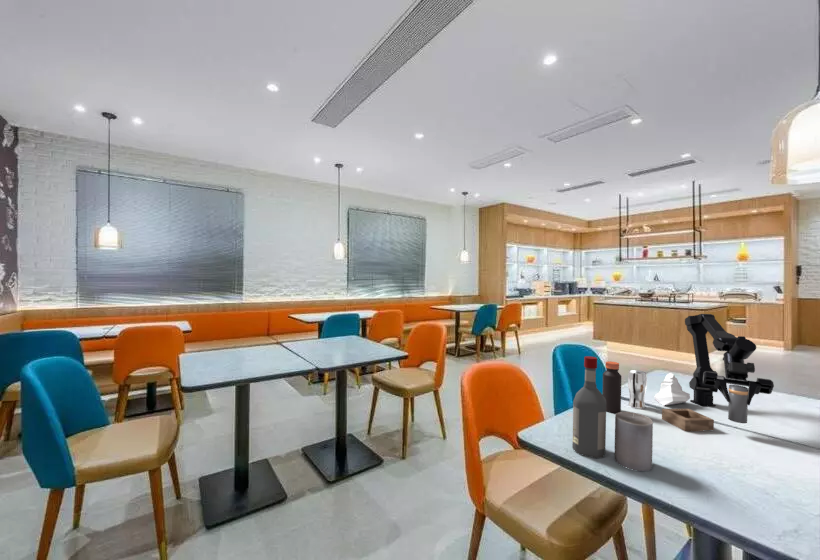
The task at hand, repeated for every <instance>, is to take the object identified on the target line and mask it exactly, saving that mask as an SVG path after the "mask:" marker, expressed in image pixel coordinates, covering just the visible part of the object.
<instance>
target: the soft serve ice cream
mask: <svg viewBox="0 0 820 560" xmlns="http://www.w3.org/2000/svg"><path fill="white" fill-rule="evenodd" d="M690 399H691V396H690V393H688V392H687V391H685V390H683V387H682V386H681V383H680V382H679V379H678V378H677V377H676V376H675V374H674V373H672V372H669V373H667V374H666V375H665V378H664V379H663V381H662V382H661V383H660V389H659V392H657V393H656V394H655V395H654V400H655V401H657V402H658V404H660V405H661V404H662V405H663V407H665V405H666V406H670V405H671V406H672V405H677V404H684V403H686V402H688V401H690ZM662 405H661V406H662Z"/></svg>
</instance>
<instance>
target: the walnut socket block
mask: <svg viewBox="0 0 820 560" xmlns="http://www.w3.org/2000/svg"><path fill="white" fill-rule="evenodd" d="M661 420H663V421H665V422H667V423H669V424H670V425H673V426H675V428H678V429H680V430H682V431H684V432H704V431H703V430H714V427H715V426H714V424H715V420H714V419H713V418H711V417H708V416H706V415H703V414H701V413H699V412H697V411H695V410H693V409H691V408H662V409H661Z"/></svg>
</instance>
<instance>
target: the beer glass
mask: <svg viewBox="0 0 820 560" xmlns="http://www.w3.org/2000/svg"><path fill="white" fill-rule="evenodd" d="M647 373H648V372H646V371H643V370H638V369H630V370H629V369H628V375H627V376H628V377H627V385H628V387H627V388H628V392H629V401H628V406H629V407H630V406H631V408H633V409H637V410H638V409H639V410H643V409H644V410H645V409H646V404H645V398H646V396H645V395H646V392H647V388H648V375H647Z"/></svg>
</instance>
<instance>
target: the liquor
mask: <svg viewBox="0 0 820 560" xmlns="http://www.w3.org/2000/svg"><path fill="white" fill-rule="evenodd" d="M583 359H584V360H583V361H584V362H583V367H584V368H585V369H584V383H583V387H581V388H580V389H579V390H578V391H576V393H575V396H574V398H573V403H572V408H573V409H572V443H571V444H572V449H573V451H574V450H575V451H576V453H577V454H578V453H579V454H578V455H580V454H583V455H582V456H585V455H586V456H585V457H588V458H589V457H590V458H593V459H601V458H602V459H603V458H604V457H605V456H606V445H607V444H606V440H607V439H606V436H607V434H606V433H607V411H606V399H605V397H604V396H603V393H602V392H601V391H600V390H599V389H598V387H597V382H596V378H597V376H596V375H597V369H598V358H597V357H595V356H591V355H588V356H587V355H586V356H584V358H583ZM575 451H574V452H575Z"/></svg>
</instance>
